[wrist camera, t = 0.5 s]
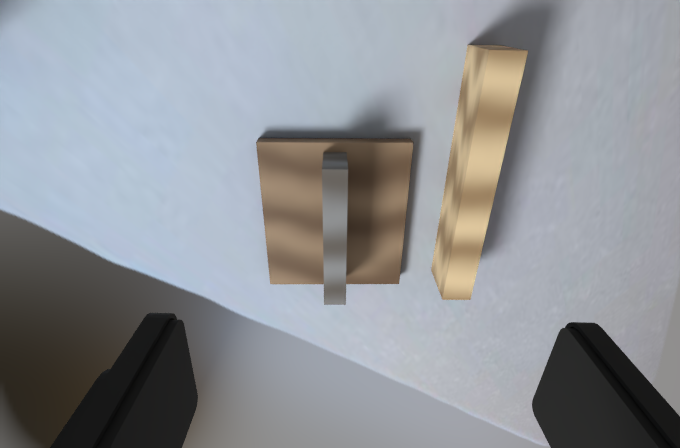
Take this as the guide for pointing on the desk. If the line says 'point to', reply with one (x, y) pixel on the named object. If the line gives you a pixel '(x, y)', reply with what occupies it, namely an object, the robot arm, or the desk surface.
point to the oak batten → (475, 163)
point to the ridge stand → (334, 210)
